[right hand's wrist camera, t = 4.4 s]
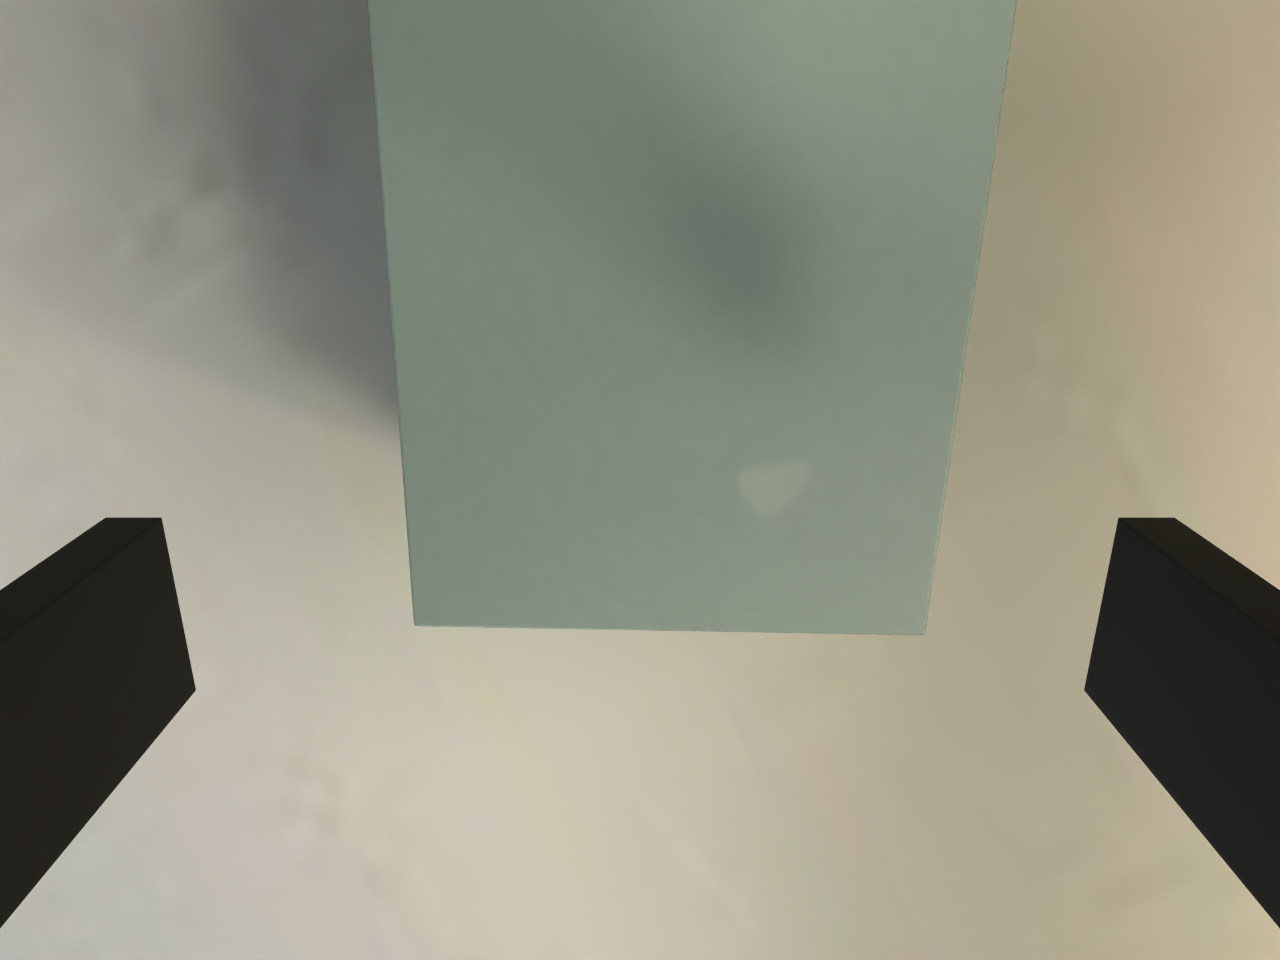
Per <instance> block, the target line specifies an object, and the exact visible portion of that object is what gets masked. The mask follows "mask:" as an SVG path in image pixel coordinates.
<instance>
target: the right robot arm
mask: <svg viewBox="0 0 1280 960" xmlns="http://www.w3.org/2000/svg"><path fill="white" fill-rule="evenodd" d="M195 691H196V689H195V684H194V679H193V674H192V669H191V664H190V658H189V653H188V648H187V643H186V638H185V633H184V628H183V623H182V618H181V613H180V608H179V603H178V598H177V593H176V588H175V583H174V578H173V573H172V568H171V563H170V558H169V553H168V548H167V543H166V538H165V533H164V528H163V523H162V518H104V519H103V520H102V521H100V522H99V523H97V524H96V525H94V526H93V527H91V528H90V529H89V530H87V531H86V532H84V533H83V534H81V535H80V536H78V537H77V538H75V539H74V540H73V541H71V542H70V543H68V544H67V545H65V546H64V547H62V548H61V549H59V550H58V551H57V552H55V553H54V554H52V555H51V556H49V557H48V558H46V559H45V560H44V561H42V562H41V563H39V564H38V565H36V566H35V567H33V568H32V569H30V570H29V571H28V572H26V573H25V574H23V575H22V576H20V577H19V578H17V579H16V580H14V581H13V582H12V583H10V584H9V585H7V586H6V587H4V588H3V589H1V590H0V928H1V927H2V925H3V924H4V923H5V922H6V921H7V919H8V918H9V917H10V916H11V914H12V913H13V912H14V911H15V910H16V908H17V907H18V906H19V905H20V904H21V902H22V901H23V900H24V899H25V897H26V896H27V895H28V894H29V893H30V891H31V890H32V889H33V888H34V886H35V885H36V884H37V883H38V882H39V880H40V879H41V878H42V877H43V876H44V874H45V873H46V872H47V871H48V869H49V868H50V867H51V866H52V865H53V863H54V862H55V861H56V860H57V858H58V857H59V856H60V855H61V854H62V852H63V851H64V850H65V849H66V848H67V846H68V845H69V844H70V843H71V841H72V840H73V839H74V838H75V837H76V835H77V834H78V833H79V832H80V830H81V829H82V828H83V827H84V826H85V824H86V823H87V822H88V821H89V820H90V818H91V817H92V816H93V815H94V813H95V812H96V811H97V810H98V809H99V807H100V806H101V805H102V804H103V802H104V801H105V800H106V799H107V798H108V796H109V795H110V794H111V793H112V792H113V790H114V789H115V788H116V787H117V785H118V784H119V783H120V782H121V781H122V779H123V778H124V777H125V776H126V775H127V773H128V772H129V771H130V770H131V768H132V767H133V766H134V765H135V764H136V762H137V761H138V760H139V759H140V757H141V756H142V755H143V754H144V753H145V751H146V750H147V749H148V748H149V747H150V745H151V744H152V743H153V742H154V740H155V739H156V738H157V737H158V736H159V734H160V733H161V732H162V731H163V729H164V728H165V727H166V726H167V725H168V723H169V722H170V721H171V720H172V719H173V717H174V716H175V715H176V714H177V712H178V711H179V710H180V709H181V708H182V706H183V705H184V704H185V703H186V701H187V700H188V699H189V698H190V697H191V695H192V694H193V693H194V692H195ZM1084 691H1085V692H1086V693H1087V694H1088V695H1089V697H1090V698H1091V699H1092V700H1093V701H1094V703H1095V704H1096V705H1097V706H1098V708H1099V709H1100V710H1101V711H1102V712H1103V714H1104V715H1105V716H1106V717H1107V719H1108V720H1109V721H1110V722H1111V723H1112V725H1113V726H1114V727H1115V728H1116V729H1117V731H1118V732H1119V733H1120V734H1121V736H1122V737H1123V738H1124V739H1125V740H1126V742H1127V743H1128V744H1129V745H1130V747H1131V748H1132V749H1133V750H1134V751H1135V753H1136V754H1137V755H1138V756H1139V757H1140V759H1141V760H1142V761H1143V762H1144V764H1145V765H1146V766H1147V767H1148V768H1149V770H1150V771H1151V772H1152V773H1153V775H1154V776H1155V777H1156V778H1157V779H1158V781H1159V782H1160V783H1161V784H1162V785H1163V787H1164V788H1165V789H1166V790H1167V792H1168V793H1169V794H1170V795H1171V796H1172V798H1173V799H1174V800H1175V801H1176V802H1177V804H1178V805H1179V806H1180V807H1181V809H1182V810H1183V811H1184V812H1185V813H1186V815H1187V816H1188V817H1189V818H1190V820H1191V821H1192V822H1193V823H1194V824H1195V826H1196V827H1197V828H1198V829H1199V830H1200V832H1201V833H1202V834H1203V835H1204V837H1205V838H1206V839H1207V840H1208V841H1209V843H1210V844H1211V845H1212V846H1213V848H1214V849H1215V850H1216V851H1217V852H1218V854H1219V855H1220V856H1221V857H1222V858H1223V860H1224V861H1225V862H1226V863H1227V865H1228V866H1229V867H1230V868H1231V869H1232V871H1233V872H1234V873H1235V874H1236V876H1237V877H1238V878H1239V879H1240V880H1241V882H1242V883H1243V884H1244V885H1245V886H1246V888H1247V889H1248V890H1249V891H1250V893H1251V894H1252V895H1253V896H1254V897H1255V899H1256V900H1257V901H1258V902H1259V904H1260V905H1261V906H1262V907H1263V908H1264V910H1265V911H1266V912H1267V913H1268V914H1269V916H1270V917H1271V918H1272V919H1273V921H1274V922H1275V923H1276V924H1277V925H1278V927H1279V928H1280V590H1279V589H1277V588H1276V587H1274V586H1273V585H1271V584H1270V583H1268V582H1267V581H1266V580H1264V579H1263V578H1261V577H1260V576H1258V575H1257V574H1255V573H1254V572H1252V571H1251V570H1250V569H1248V568H1247V567H1245V566H1244V565H1242V564H1241V563H1239V562H1238V561H1236V560H1235V559H1234V558H1232V557H1231V556H1229V555H1228V554H1226V553H1225V552H1223V551H1222V550H1221V549H1219V548H1218V547H1216V546H1215V545H1213V544H1212V543H1210V542H1209V541H1207V540H1206V539H1205V538H1203V537H1202V536H1200V535H1199V534H1197V533H1196V532H1194V531H1193V530H1191V529H1190V528H1189V527H1187V526H1186V525H1184V524H1183V523H1181V522H1180V521H1178V520H1177V519H1176V518H1118V523H1117V528H1116V533H1115V538H1114V543H1113V548H1112V553H1111V558H1110V563H1109V568H1108V573H1107V578H1106V583H1105V588H1104V593H1103V598H1102V603H1101V608H1100V613H1099V618H1098V623H1097V628H1096V633H1095V638H1094V643H1093V648H1092V653H1091V658H1090V664H1089V669H1088V674H1087V679H1086V684H1085V689H1084Z"/></svg>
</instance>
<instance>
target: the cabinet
mask: <svg viewBox="0 0 1280 960" xmlns="http://www.w3.org/2000/svg"><path fill="white" fill-rule="evenodd" d="M367 1H368V14H369V28H370V41H371V54H372V68H373V81H374V95H375V108H376V121H377V135H378V148H379V161H380V175H381V188H382V202H383V215H384V228H385V242H386V255H387V269H388V282H389V295H390V309H391V322H392V335H393V349H394V362H395V376H396V389H397V402H398V416H399V429H400V442H401V456H402V469H403V483H404V496H405V509H406V523H407V536H408V550H409V563H410V576H411V590H412V603H413V616H414V624H415V626H431V627H488V628H545V629H602V630H659V631H716V632H773V633H830V634H886V635H924V634H925V629H926V622H927V615H928V608H929V601H930V595H931V588H932V581H933V574H934V567H935V560H936V553H937V546H938V539H939V532H940V526H941V519H942V512H943V505H944V498H945V491H946V484H947V477H948V470H949V463H950V456H951V450H952V443H953V436H954V429H955V422H956V415H957V408H958V401H959V394H960V387H961V381H962V374H963V367H964V360H965V353H966V346H967V339H968V332H969V325H970V318H971V312H972V305H973V298H974V291H975V284H976V277H977V270H978V263H979V256H980V249H981V243H982V236H983V229H984V222H985V215H986V208H987V201H988V194H989V187H990V180H991V173H992V167H993V160H994V153H995V146H996V139H997V132H998V125H999V118H1000V111H1001V104H1002V98H1003V91H1004V84H1005V77H1006V70H1007V63H1008V56H1009V49H1010V42H1011V35H1012V29H1013V22H1014V15H1015V8H1016V1H1017V0H367Z"/></svg>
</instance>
